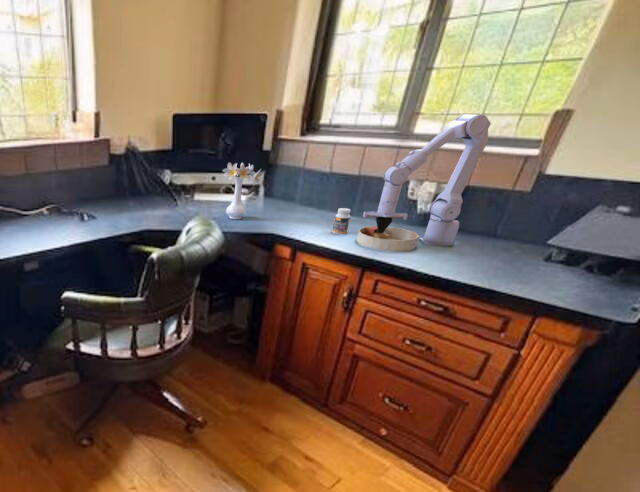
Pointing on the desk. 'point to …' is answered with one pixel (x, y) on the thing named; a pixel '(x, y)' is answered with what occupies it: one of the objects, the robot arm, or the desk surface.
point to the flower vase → (239, 187)
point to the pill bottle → (341, 221)
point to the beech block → (381, 235)
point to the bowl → (396, 242)
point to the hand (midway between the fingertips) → (379, 236)
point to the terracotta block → (371, 231)
